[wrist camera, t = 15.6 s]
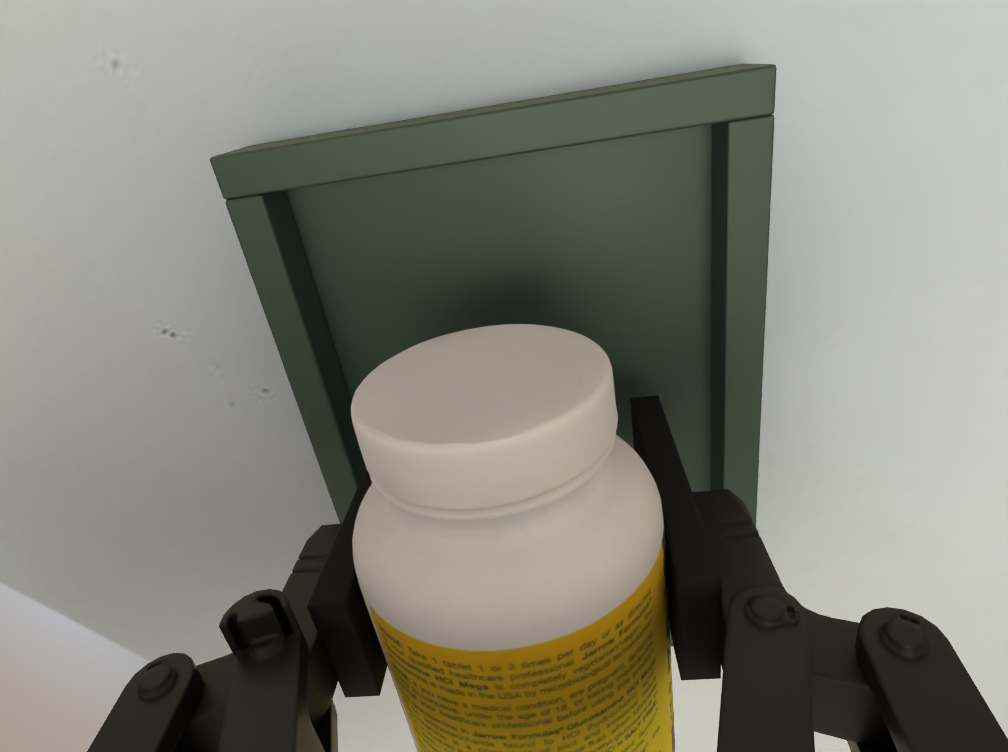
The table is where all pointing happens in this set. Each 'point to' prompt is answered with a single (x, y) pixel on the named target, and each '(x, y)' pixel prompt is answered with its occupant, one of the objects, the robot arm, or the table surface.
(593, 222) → the tray
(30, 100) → the table surface
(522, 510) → the pill bottle
